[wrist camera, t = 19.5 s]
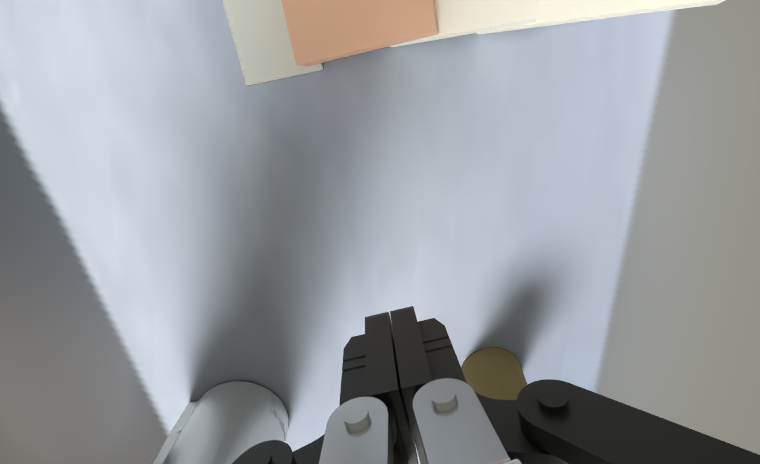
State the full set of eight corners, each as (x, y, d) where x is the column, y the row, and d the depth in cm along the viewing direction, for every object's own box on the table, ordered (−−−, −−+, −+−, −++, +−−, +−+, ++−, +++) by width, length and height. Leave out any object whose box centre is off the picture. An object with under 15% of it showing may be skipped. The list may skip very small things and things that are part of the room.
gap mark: (246, 85, 30) (246, 85, 30) (222, -2, 28) (221, -2, 28) (323, 69, 30) (323, 69, 30) (303, -19, 28) (303, -20, 28)
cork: (511, 403, 40) (561, 509, 29) (453, 395, 39) (483, 499, 29) (528, 352, 38) (589, 445, 27) (468, 343, 37) (505, 434, 27)
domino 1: (296, 65, 28) (436, 30, 25) (278, -14, 26) (424, -60, 24) (306, 66, 30) (439, 33, 27) (289, -8, 28) (427, -51, 25)
